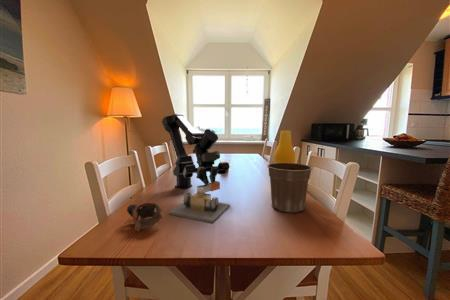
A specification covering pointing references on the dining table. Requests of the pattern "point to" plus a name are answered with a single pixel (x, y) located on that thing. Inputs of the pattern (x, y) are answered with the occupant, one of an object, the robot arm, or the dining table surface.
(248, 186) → the dining table surface
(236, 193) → the dining table surface
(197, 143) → the robot arm
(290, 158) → the yellow bottle
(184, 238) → the dining table surface
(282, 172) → the plant pot
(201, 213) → the rubber mat
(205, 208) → the valve body
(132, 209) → the pottery mug
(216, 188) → the valve lever
